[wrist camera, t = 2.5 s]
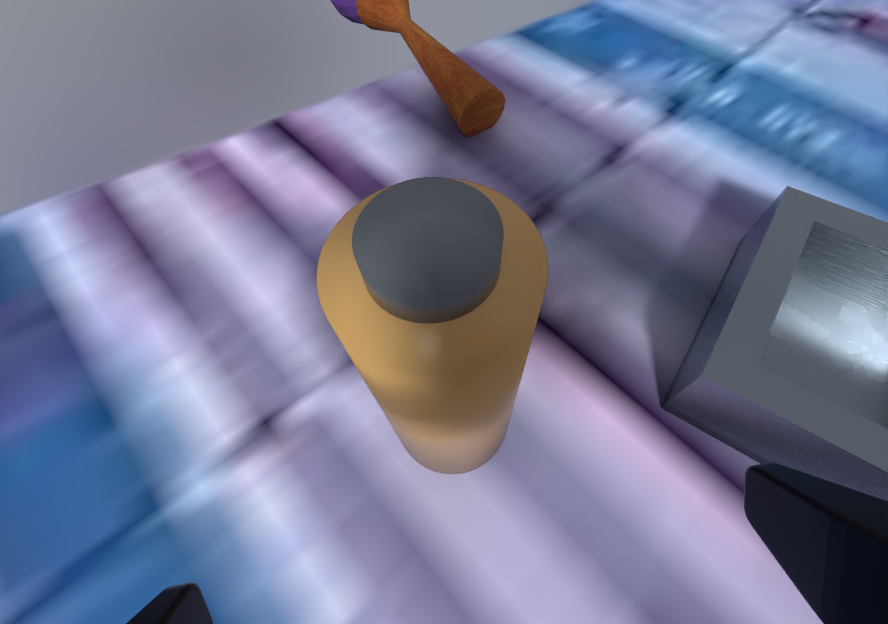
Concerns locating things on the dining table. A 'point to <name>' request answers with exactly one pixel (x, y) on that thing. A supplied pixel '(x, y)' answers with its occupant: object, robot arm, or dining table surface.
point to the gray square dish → (798, 346)
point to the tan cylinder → (437, 311)
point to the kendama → (433, 63)
